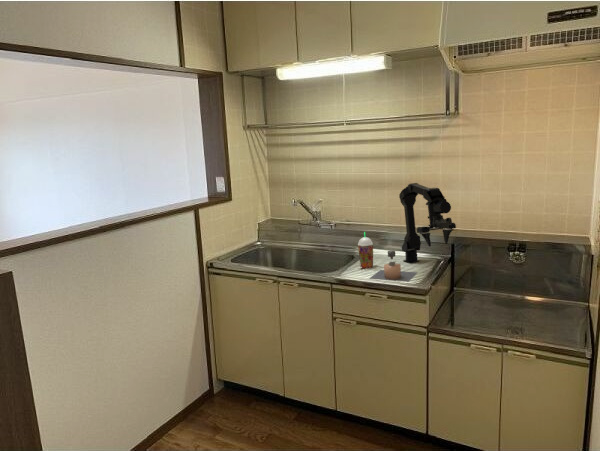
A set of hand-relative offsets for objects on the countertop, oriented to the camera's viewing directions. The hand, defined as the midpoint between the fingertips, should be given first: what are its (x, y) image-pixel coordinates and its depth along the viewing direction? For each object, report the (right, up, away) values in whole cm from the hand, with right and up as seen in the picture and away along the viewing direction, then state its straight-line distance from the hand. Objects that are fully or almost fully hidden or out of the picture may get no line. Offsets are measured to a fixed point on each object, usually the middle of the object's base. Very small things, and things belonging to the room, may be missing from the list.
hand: (438, 245), depth 222 cm
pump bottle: (-22, -16, 0) cm, 27 cm away
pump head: (-24, -7, -2) cm, 25 cm away
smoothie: (-32, -14, +23) cm, 42 cm away
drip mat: (-21, -16, +3) cm, 27 cm away
